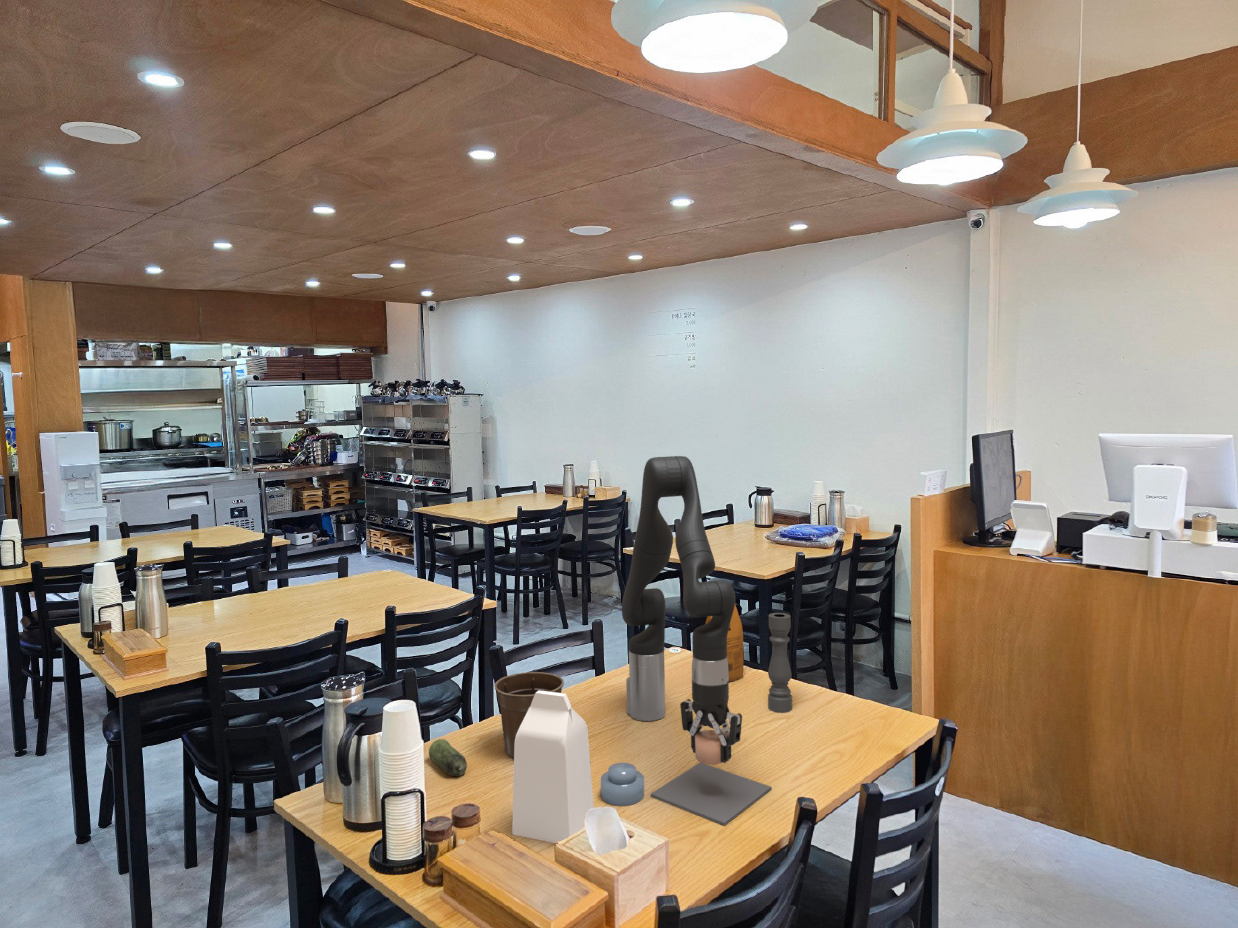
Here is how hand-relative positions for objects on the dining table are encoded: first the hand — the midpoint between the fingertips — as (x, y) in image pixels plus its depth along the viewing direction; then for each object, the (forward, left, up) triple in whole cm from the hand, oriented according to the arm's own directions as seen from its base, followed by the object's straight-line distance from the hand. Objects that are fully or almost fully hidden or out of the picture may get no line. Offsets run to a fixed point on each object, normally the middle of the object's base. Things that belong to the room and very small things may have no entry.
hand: (711, 756), depth 159 cm
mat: (0, 0, -8) cm, 8 cm away
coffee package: (-36, +59, -8) cm, 70 cm away
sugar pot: (-14, -12, -8) cm, 20 cm away
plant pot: (-45, -9, -8) cm, 47 cm away
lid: (0, 0, 0) cm, 0 cm away
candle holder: (-11, +49, -8) cm, 51 cm away
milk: (-17, -29, -8) cm, 35 cm away
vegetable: (-53, -27, -8) cm, 60 cm away
